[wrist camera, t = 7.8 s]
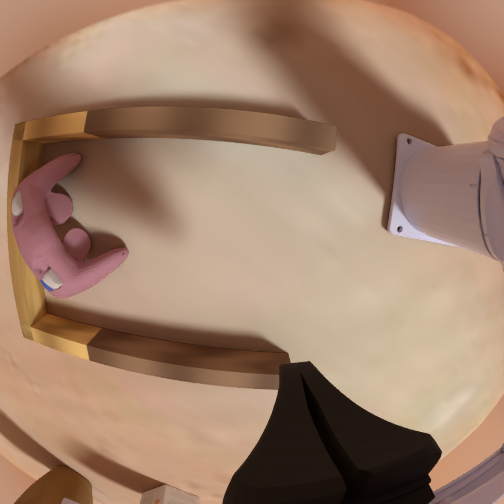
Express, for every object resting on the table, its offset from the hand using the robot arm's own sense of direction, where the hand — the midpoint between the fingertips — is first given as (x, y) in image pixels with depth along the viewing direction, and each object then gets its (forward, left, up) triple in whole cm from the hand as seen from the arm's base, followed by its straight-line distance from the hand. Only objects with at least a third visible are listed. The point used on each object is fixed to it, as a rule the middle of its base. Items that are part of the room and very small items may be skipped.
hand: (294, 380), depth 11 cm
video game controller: (+16, -4, -10) cm, 19 cm away
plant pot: (+30, +43, -10) cm, 53 cm away
